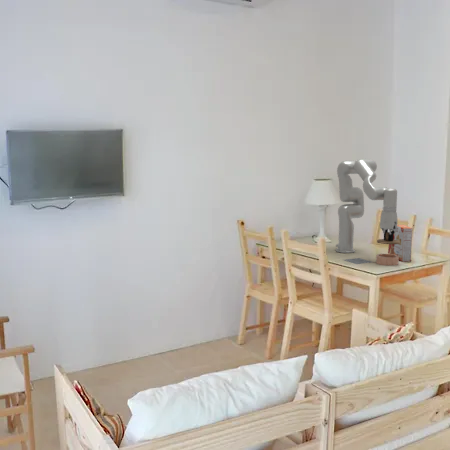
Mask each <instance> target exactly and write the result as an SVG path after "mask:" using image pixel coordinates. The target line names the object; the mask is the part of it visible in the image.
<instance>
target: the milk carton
mask: <svg viewBox="0 0 450 450" xmlns="http://www.w3.org/2000/svg"><path fill="white" fill-rule="evenodd" d="M394 239H395V233H394V234H393V240H394ZM387 254H394V244H388V251H387Z"/></svg>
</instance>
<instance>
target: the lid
mask: <svg viewBox="0 0 450 450" xmlns="http://www.w3.org/2000/svg"><path fill="white" fill-rule="evenodd" d="M388 237H389V231H388V232H386V240H384V238H379V239H377V240H376V243H377V244H381V245H382V244H383V245H389V244H399V243H400V241H398V240H393V241H388Z"/></svg>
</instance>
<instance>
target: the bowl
mask: <svg viewBox="0 0 450 450" xmlns="http://www.w3.org/2000/svg"><path fill="white" fill-rule="evenodd" d="M375 255H376V257H375V258H376V259H375V263H376V264H378V265H382V266H398V264H399V262H400V260H399V256H398V255H394V254H388V253H376V254H375Z"/></svg>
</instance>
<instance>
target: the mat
mask: <svg viewBox="0 0 450 450" xmlns="http://www.w3.org/2000/svg"><path fill="white" fill-rule="evenodd" d="M343 261H345V262H348V263H350V264H351V263H352V264H355V265H360V264H361V265H362V264H369V263H373V261H372V260H367V259H364V258H360V257H358V258H355V257H354V258H349V259H343Z"/></svg>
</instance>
